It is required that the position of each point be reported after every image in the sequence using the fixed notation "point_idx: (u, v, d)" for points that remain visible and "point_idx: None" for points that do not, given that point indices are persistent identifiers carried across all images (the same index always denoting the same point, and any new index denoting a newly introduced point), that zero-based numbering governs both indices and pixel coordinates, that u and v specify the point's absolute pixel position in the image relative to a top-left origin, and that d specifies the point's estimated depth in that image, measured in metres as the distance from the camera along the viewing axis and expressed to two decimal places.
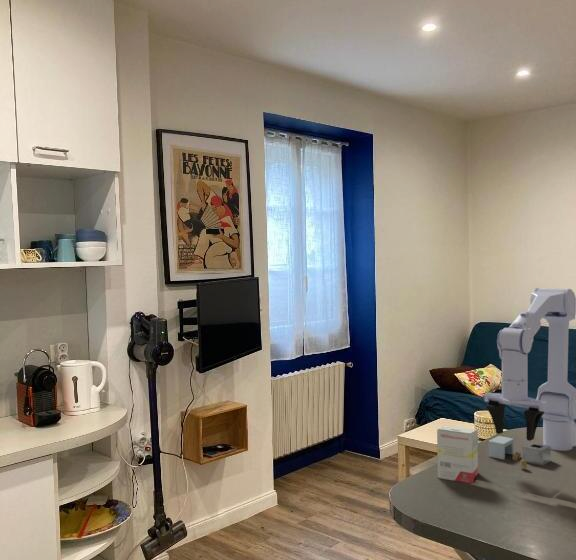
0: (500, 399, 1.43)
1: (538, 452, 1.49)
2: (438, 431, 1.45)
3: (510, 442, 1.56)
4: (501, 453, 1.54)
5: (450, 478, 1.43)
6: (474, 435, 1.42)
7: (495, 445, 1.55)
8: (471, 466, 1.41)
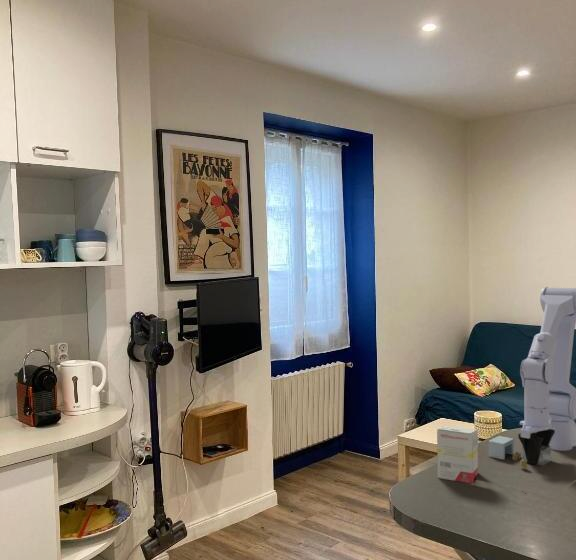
0: None
1: None
2: (438, 431, 1.45)
3: (510, 442, 1.56)
4: (501, 453, 1.54)
5: (450, 478, 1.43)
6: (474, 435, 1.42)
7: (495, 445, 1.55)
8: (471, 466, 1.41)
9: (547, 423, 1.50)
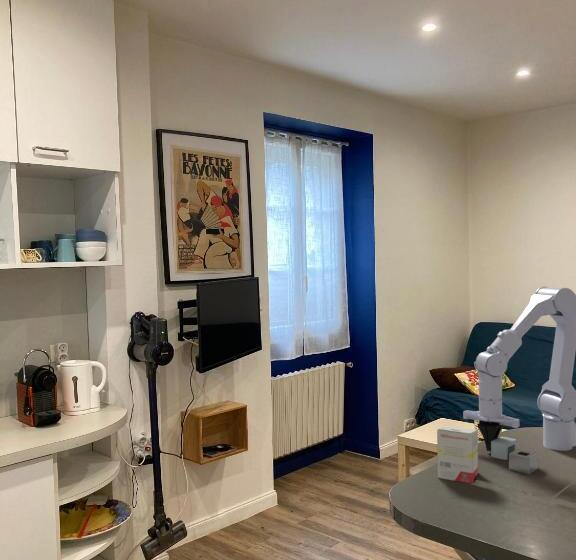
0: (477, 417, 1.58)
1: (525, 460, 1.43)
2: (438, 431, 1.45)
3: (513, 443, 1.56)
4: (504, 454, 1.53)
5: (450, 478, 1.43)
6: (474, 435, 1.42)
7: (498, 446, 1.54)
8: (471, 466, 1.41)
9: None
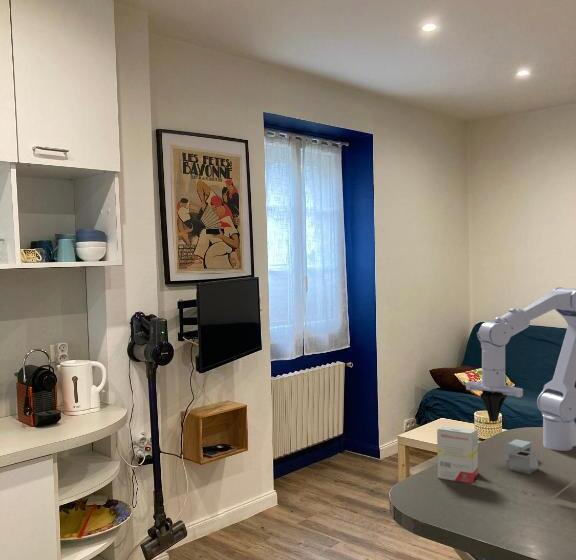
0: (481, 387, 1.58)
1: (525, 460, 1.43)
2: (438, 431, 1.45)
3: (528, 446, 1.53)
4: None
5: (450, 478, 1.43)
6: (474, 435, 1.42)
7: (513, 449, 1.52)
8: (471, 466, 1.41)
9: None
